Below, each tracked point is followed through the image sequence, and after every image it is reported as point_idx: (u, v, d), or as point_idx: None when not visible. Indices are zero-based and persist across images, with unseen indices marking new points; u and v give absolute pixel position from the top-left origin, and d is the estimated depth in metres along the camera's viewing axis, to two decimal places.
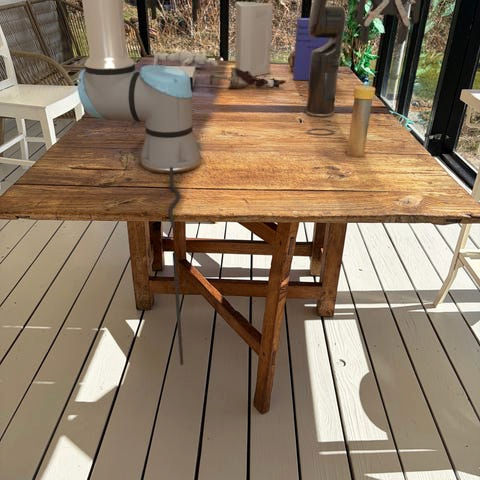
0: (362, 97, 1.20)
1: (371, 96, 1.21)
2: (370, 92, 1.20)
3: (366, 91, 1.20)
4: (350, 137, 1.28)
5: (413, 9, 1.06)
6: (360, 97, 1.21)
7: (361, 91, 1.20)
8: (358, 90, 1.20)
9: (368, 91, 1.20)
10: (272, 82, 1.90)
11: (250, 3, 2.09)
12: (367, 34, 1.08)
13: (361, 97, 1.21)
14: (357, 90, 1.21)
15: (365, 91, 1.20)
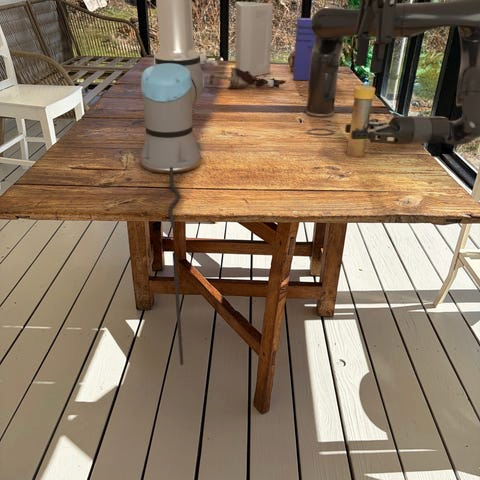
0: (362, 97, 1.20)
1: (371, 96, 1.21)
2: (370, 92, 1.20)
3: (366, 91, 1.20)
4: (350, 137, 1.28)
5: None
6: (360, 97, 1.21)
7: (361, 91, 1.20)
8: (358, 90, 1.20)
9: (368, 91, 1.20)
10: (272, 82, 1.90)
11: (250, 3, 2.09)
12: None
13: (361, 97, 1.21)
14: (357, 90, 1.21)
15: (365, 91, 1.20)
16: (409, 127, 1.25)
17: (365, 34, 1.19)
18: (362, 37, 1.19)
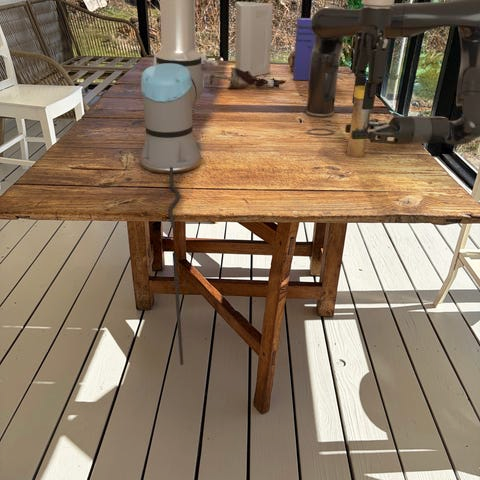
0: (362, 97, 1.20)
1: None
2: None
3: None
4: (350, 137, 1.28)
5: None
6: (360, 97, 1.21)
7: (361, 91, 1.20)
8: (358, 90, 1.20)
9: None
10: (272, 82, 1.90)
11: (250, 3, 2.09)
12: None
13: (361, 97, 1.21)
14: (357, 90, 1.21)
15: None
16: (409, 127, 1.25)
17: (361, 73, 1.23)
18: (359, 76, 1.23)
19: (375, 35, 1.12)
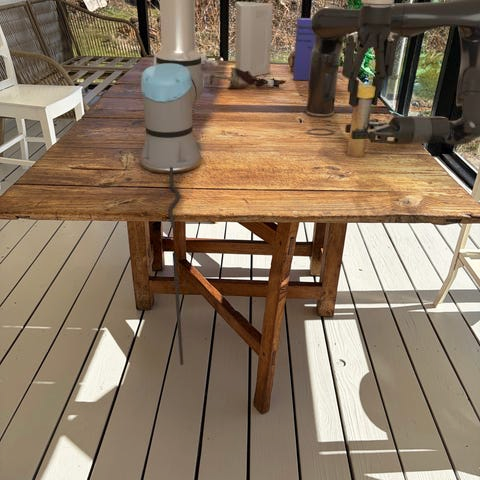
0: None
1: None
2: None
3: None
4: (350, 137, 1.28)
5: None
6: (373, 95, 1.21)
7: (374, 89, 1.20)
8: (373, 89, 1.20)
9: None
10: (272, 82, 1.90)
11: (250, 3, 2.09)
12: None
13: None
14: (372, 90, 1.20)
15: (375, 88, 1.21)
16: (409, 127, 1.25)
17: None
18: None
19: (388, 32, 1.14)
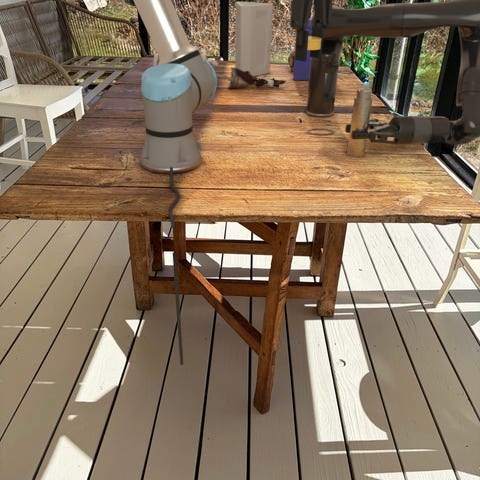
0: None
1: None
2: None
3: None
4: (350, 137, 1.28)
5: None
6: None
7: (320, 39, 1.11)
8: (320, 39, 1.10)
9: None
10: (272, 82, 1.90)
11: (250, 3, 2.09)
12: None
13: None
14: (320, 40, 1.10)
15: None
16: (409, 127, 1.25)
17: None
18: None
19: None
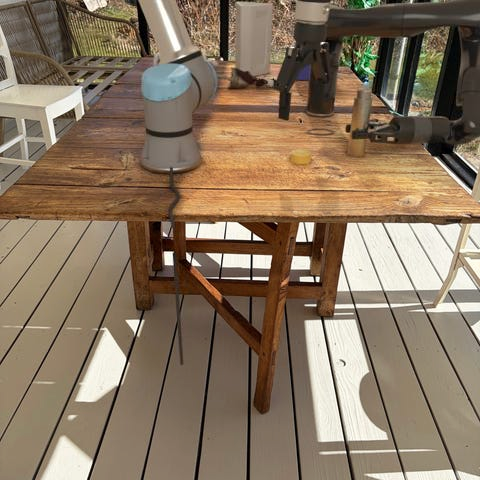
0: None
1: None
2: None
3: None
4: (350, 137, 1.28)
5: None
6: None
7: (310, 154, 1.25)
8: (310, 154, 1.24)
9: None
10: (272, 82, 1.90)
11: (250, 3, 2.09)
12: None
13: None
14: (310, 155, 1.24)
15: None
16: (409, 127, 1.25)
17: None
18: None
19: (320, 48, 1.13)
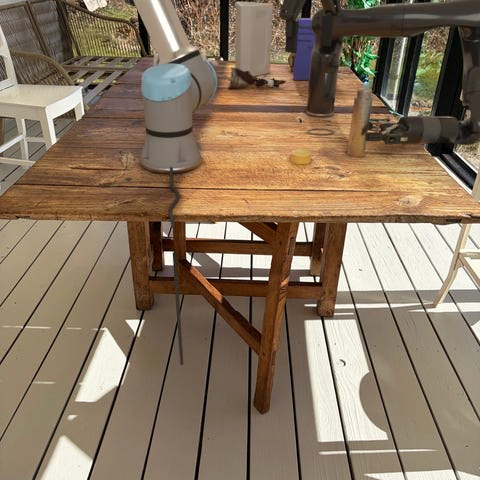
0: None
1: None
2: None
3: None
4: (350, 137, 1.28)
5: None
6: None
7: (310, 154, 1.25)
8: (310, 154, 1.24)
9: None
10: (272, 82, 1.90)
11: (250, 3, 2.09)
12: None
13: None
14: (310, 155, 1.24)
15: None
16: (418, 127, 1.25)
17: None
18: None
19: None
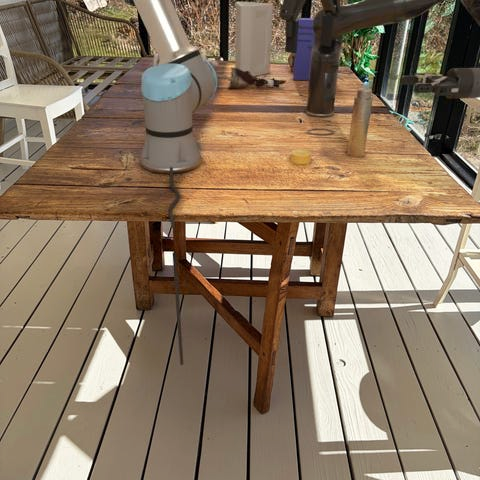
0: None
1: None
2: None
3: None
4: (350, 137, 1.28)
5: None
6: None
7: (310, 154, 1.25)
8: (310, 154, 1.24)
9: None
10: (272, 82, 1.90)
11: (250, 3, 2.09)
12: None
13: None
14: (310, 155, 1.24)
15: None
16: (468, 78, 1.20)
17: None
18: None
19: None
